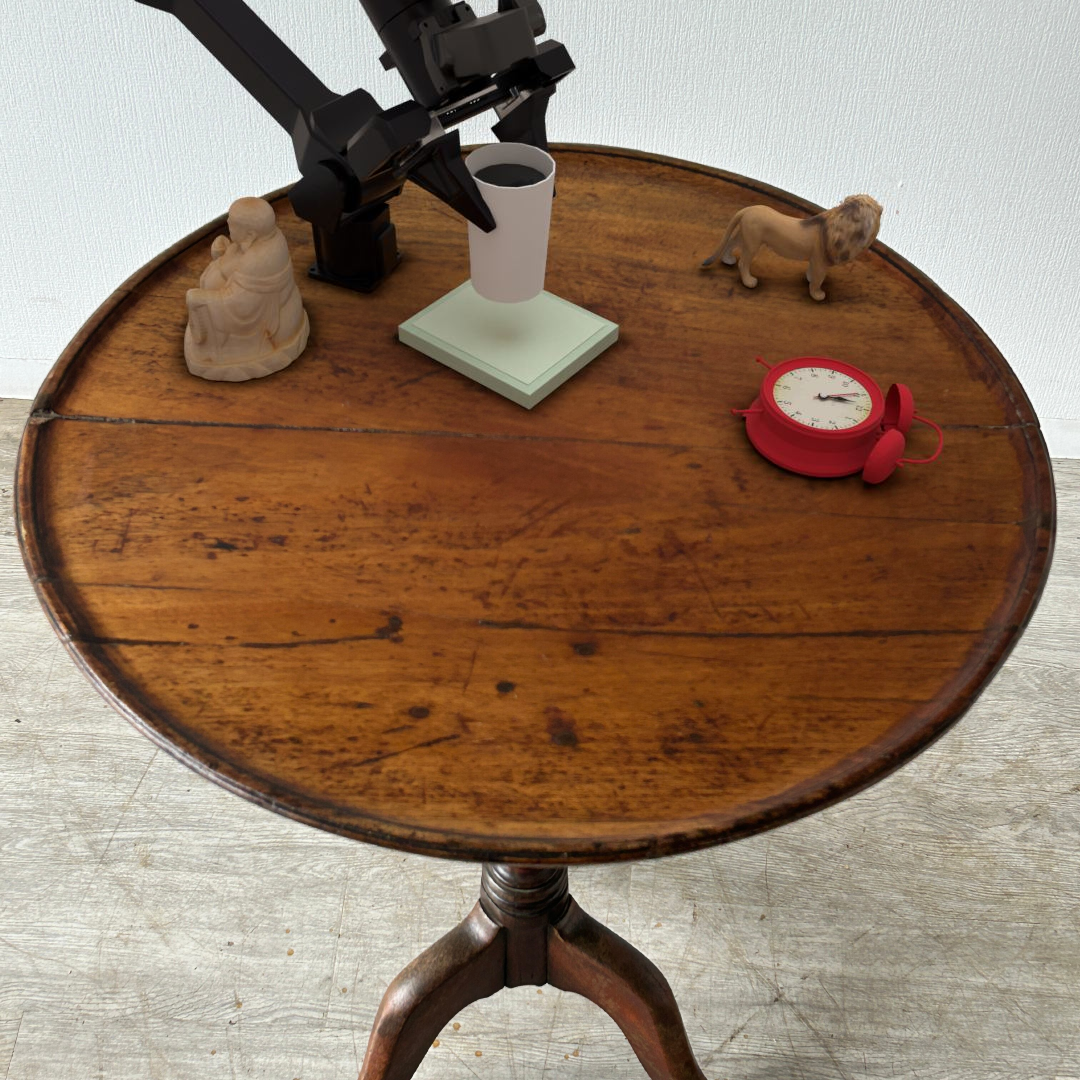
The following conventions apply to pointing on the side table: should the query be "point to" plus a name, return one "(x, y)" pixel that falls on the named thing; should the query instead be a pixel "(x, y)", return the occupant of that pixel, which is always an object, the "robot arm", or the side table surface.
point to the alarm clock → (831, 420)
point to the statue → (246, 301)
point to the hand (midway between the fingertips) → (522, 214)
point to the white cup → (511, 221)
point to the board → (509, 340)
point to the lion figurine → (803, 237)
